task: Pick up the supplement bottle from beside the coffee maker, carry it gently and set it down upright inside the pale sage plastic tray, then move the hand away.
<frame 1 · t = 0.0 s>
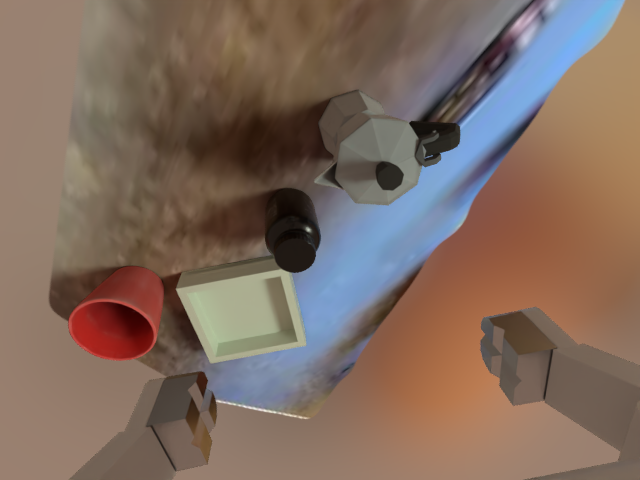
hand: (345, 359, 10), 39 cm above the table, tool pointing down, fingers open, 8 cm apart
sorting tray: (247, 302, 59), on the table
supplement bottle: (290, 208, 51), on the table
coffee maker: (360, 123, 46), on the table
flower pot: (137, 285, 55), on the table
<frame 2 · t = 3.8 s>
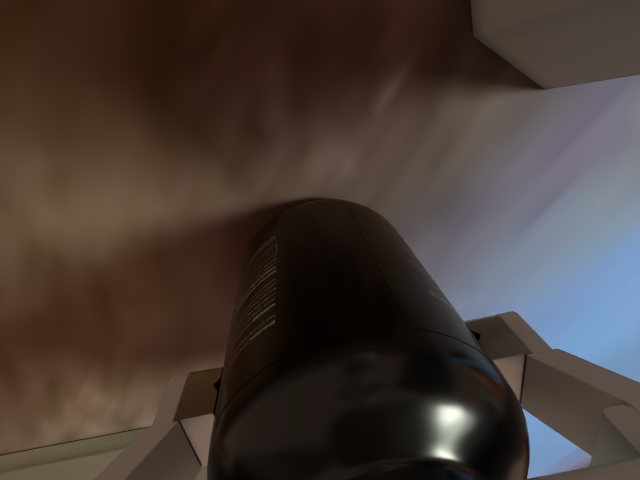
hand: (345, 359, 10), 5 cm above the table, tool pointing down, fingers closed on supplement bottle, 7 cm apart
supplement bottle: (326, 269, 15), on the table, touching gripper
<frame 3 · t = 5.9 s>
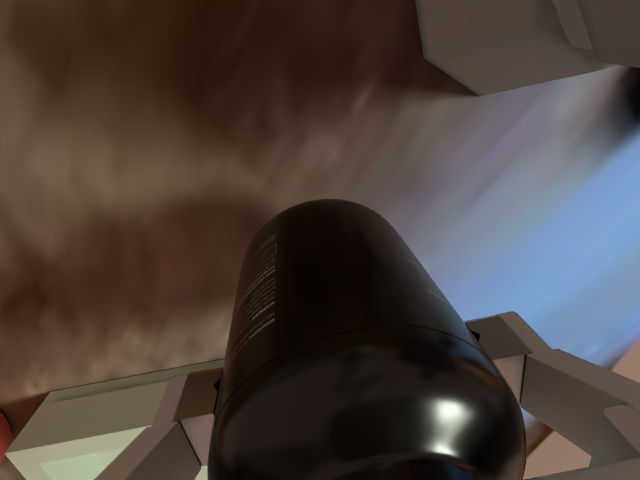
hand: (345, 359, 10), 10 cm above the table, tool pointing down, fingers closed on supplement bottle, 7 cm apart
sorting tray: (215, 450, 26), on the table
supplement bottle: (325, 268, 15), point 4 cm above the table, touching gripper
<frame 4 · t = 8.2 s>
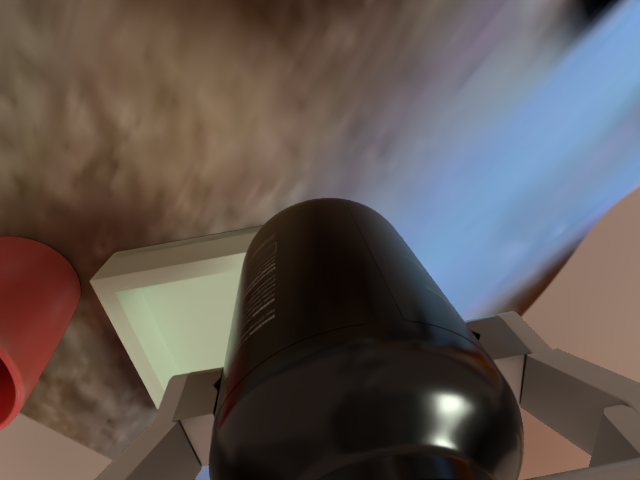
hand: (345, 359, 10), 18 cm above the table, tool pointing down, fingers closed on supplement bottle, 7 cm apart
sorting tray: (245, 316, 31), on the table
supplement bottle: (325, 267, 15), point 12 cm above the table, touching gripper
flower pot: (28, 278, 28), on the table
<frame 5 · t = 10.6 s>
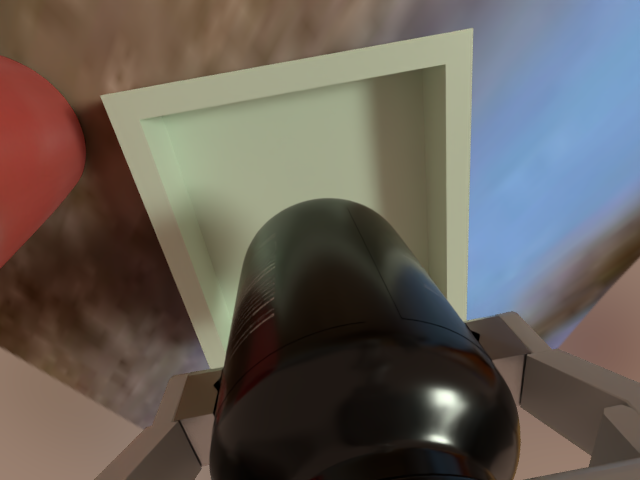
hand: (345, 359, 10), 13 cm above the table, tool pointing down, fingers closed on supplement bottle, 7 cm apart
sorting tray: (312, 204, 22), on the table
supplement bottle: (325, 266, 16), point 8 cm above the table, touching gripper
flower pot: (10, 134, 19), on the table
when the fingers open (7 cm above the table, at t = 12.8 s): supplement bottle drops 1 cm, resting on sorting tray.
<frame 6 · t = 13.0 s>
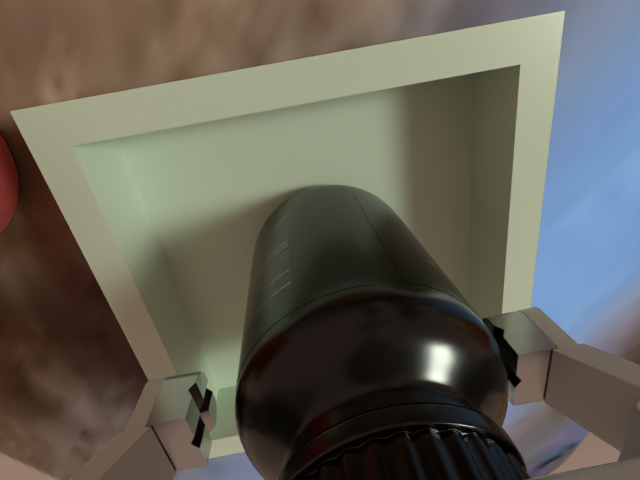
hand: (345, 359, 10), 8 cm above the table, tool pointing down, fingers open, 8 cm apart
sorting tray: (321, 246, 17), on the table
supplement bottle: (331, 250, 17), point 1 cm above the table, touching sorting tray
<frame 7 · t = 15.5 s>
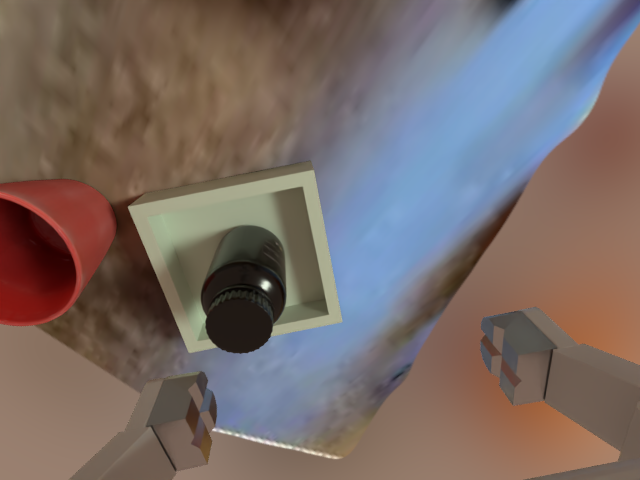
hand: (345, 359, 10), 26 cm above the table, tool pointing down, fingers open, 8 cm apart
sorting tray: (249, 251, 37), on the table
supplement bottle: (252, 253, 37), point 1 cm above the table, touching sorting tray
flower pot: (75, 217, 35), on the table
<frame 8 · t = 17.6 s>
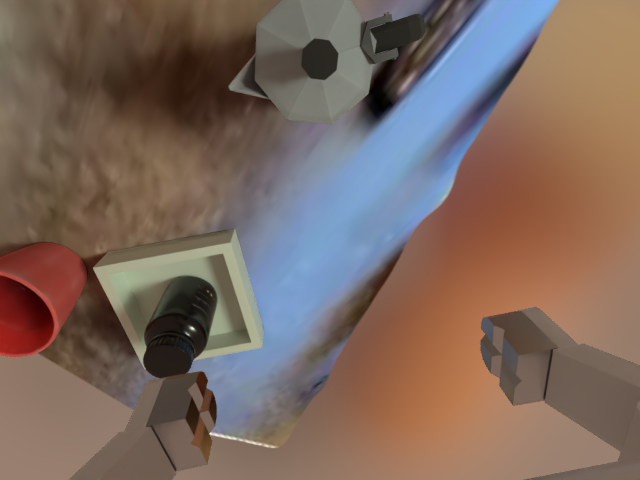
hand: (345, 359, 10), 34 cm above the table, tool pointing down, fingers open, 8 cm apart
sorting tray: (191, 292, 48), on the table
supplement bottle: (193, 295, 48), point 1 cm above the table, touching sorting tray
coffee maker: (314, 59, 38), on the table
flower pot: (55, 268, 45), on the table
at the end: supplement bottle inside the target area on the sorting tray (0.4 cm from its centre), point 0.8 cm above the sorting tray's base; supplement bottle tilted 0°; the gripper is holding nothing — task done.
